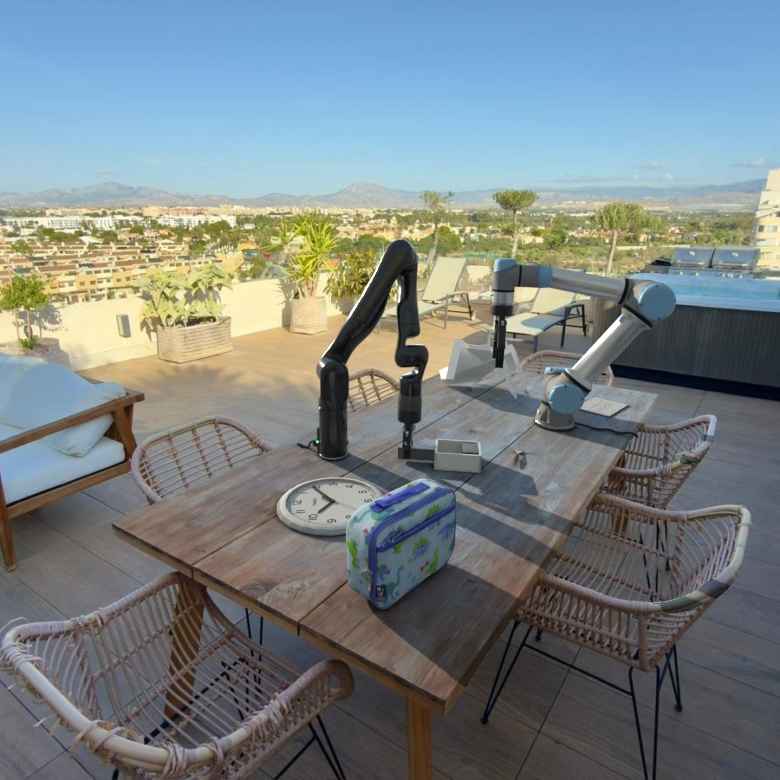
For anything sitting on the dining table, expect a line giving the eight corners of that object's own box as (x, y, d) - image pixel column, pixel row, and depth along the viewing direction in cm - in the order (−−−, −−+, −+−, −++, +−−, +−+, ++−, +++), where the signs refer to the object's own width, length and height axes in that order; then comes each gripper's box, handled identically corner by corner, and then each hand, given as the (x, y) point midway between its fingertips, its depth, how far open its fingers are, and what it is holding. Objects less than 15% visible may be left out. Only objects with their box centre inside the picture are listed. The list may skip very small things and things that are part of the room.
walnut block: (477, 444, 170) (478, 452, 164) (476, 458, 172) (477, 467, 165) (462, 443, 171) (462, 451, 164) (461, 457, 172) (461, 466, 166)
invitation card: (608, 416, 214) (573, 407, 224) (608, 416, 214) (573, 408, 224) (628, 404, 229) (594, 396, 238) (628, 405, 229) (594, 397, 238)
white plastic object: (461, 429, 252) (437, 405, 227) (444, 352, 274) (420, 323, 250) (535, 404, 240) (518, 377, 215) (510, 326, 262) (492, 293, 237)
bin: (479, 457, 174) (480, 441, 173) (480, 473, 163) (482, 456, 161) (399, 452, 177) (400, 436, 175) (396, 467, 166) (396, 450, 164)
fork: (510, 465, 168) (510, 460, 168) (516, 447, 182) (517, 442, 182) (518, 467, 167) (519, 461, 167) (524, 448, 182) (524, 443, 181)
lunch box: (375, 622, 100) (376, 527, 94) (339, 595, 108) (338, 505, 101) (459, 565, 118) (465, 481, 112) (424, 545, 125) (427, 465, 119)
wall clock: (392, 527, 129) (268, 531, 127) (391, 533, 130) (269, 537, 127) (383, 473, 158) (282, 475, 155) (383, 478, 158) (282, 480, 156)
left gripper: (400, 398, 173) (399, 444, 177) (395, 413, 159) (394, 461, 164) (423, 400, 172) (421, 445, 176) (419, 414, 158) (417, 463, 163)
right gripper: (489, 298, 194) (485, 354, 201) (493, 308, 171) (489, 371, 177) (509, 299, 194) (504, 355, 200) (517, 309, 170) (511, 372, 176)
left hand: (408, 453), depth 170 cm, fingers open, 8 cm apart
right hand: (497, 362), depth 189 cm, fingers open, 13 cm apart
